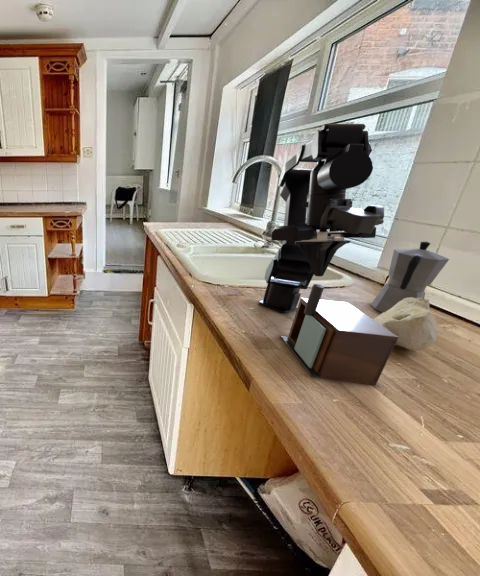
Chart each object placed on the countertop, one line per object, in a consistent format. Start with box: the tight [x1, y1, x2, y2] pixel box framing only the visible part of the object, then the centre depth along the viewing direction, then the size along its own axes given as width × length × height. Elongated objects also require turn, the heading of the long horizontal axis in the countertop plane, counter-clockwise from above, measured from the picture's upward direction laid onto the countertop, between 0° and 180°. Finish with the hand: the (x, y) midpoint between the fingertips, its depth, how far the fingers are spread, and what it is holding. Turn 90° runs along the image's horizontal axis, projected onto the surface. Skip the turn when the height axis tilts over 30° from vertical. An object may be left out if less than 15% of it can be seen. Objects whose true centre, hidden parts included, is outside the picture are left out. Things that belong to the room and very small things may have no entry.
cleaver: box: [294, 283, 326, 369], centre depth 52 cm, size 6×2×13 cm, turn 171°
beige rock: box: [372, 297, 438, 353], centre depth 62 cm, size 15×7×15 cm
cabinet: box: [280, 297, 399, 386], centre depth 54 cm, size 13×10×9 cm
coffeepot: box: [370, 240, 450, 314], centre depth 74 cm, size 15×9×18 cm, turn 129°
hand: (318, 276), depth 61 cm, fingers closed
